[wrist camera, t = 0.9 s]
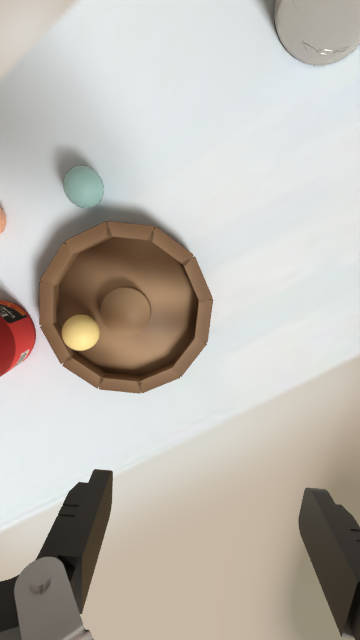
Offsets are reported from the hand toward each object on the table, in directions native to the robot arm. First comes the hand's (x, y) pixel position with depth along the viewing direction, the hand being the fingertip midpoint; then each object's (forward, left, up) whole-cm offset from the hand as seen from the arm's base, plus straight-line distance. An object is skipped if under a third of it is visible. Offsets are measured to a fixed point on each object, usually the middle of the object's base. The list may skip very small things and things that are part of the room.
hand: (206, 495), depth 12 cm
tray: (-3, -8, -23) cm, 24 cm away
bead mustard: (0, -12, -20) cm, 23 cm away
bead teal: (-15, -13, -21) cm, 29 cm away
